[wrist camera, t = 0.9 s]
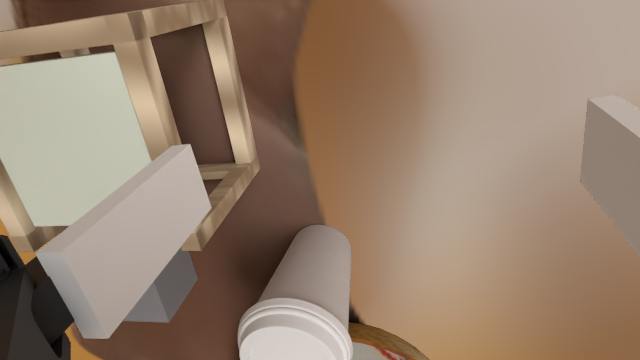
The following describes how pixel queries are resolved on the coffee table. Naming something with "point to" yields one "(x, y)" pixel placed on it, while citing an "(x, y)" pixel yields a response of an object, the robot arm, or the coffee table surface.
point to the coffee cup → (303, 303)
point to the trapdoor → (80, 153)
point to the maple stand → (145, 100)
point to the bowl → (380, 345)
